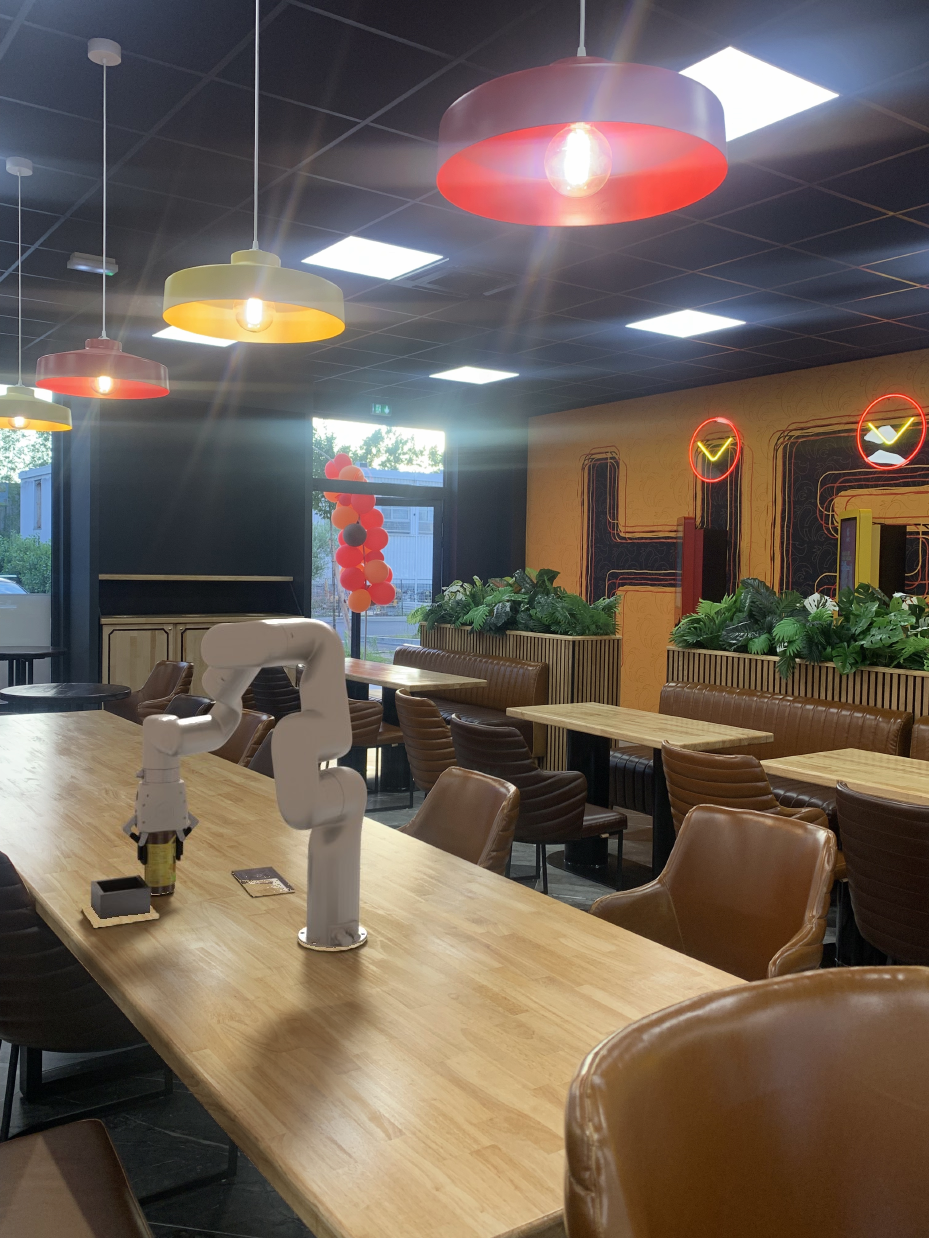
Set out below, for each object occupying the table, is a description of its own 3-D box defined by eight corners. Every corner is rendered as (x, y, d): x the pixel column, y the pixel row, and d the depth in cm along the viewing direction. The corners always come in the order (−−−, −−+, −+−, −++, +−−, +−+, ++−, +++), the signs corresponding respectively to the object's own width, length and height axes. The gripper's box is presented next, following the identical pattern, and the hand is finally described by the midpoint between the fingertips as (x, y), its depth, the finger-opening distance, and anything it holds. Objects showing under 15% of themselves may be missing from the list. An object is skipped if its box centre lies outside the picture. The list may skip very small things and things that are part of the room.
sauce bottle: (179, 894, 206) (180, 798, 205) (149, 898, 202) (150, 801, 202) (170, 885, 211) (171, 792, 210) (140, 890, 208) (141, 795, 207)
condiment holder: (159, 918, 191) (159, 889, 191) (93, 928, 185) (93, 898, 185) (144, 900, 201) (145, 872, 201) (81, 909, 195) (82, 880, 195)
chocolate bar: (271, 866, 225) (294, 889, 209) (271, 870, 225) (294, 894, 209) (231, 870, 221) (252, 894, 205) (231, 875, 221) (252, 899, 205)
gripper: (121, 782, 198) (120, 871, 199) (208, 775, 207) (207, 860, 208) (113, 775, 205) (113, 861, 205) (198, 768, 213) (196, 851, 214)
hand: (160, 860), depth 207 cm, fingers closed on sauce bottle, 6 cm apart
